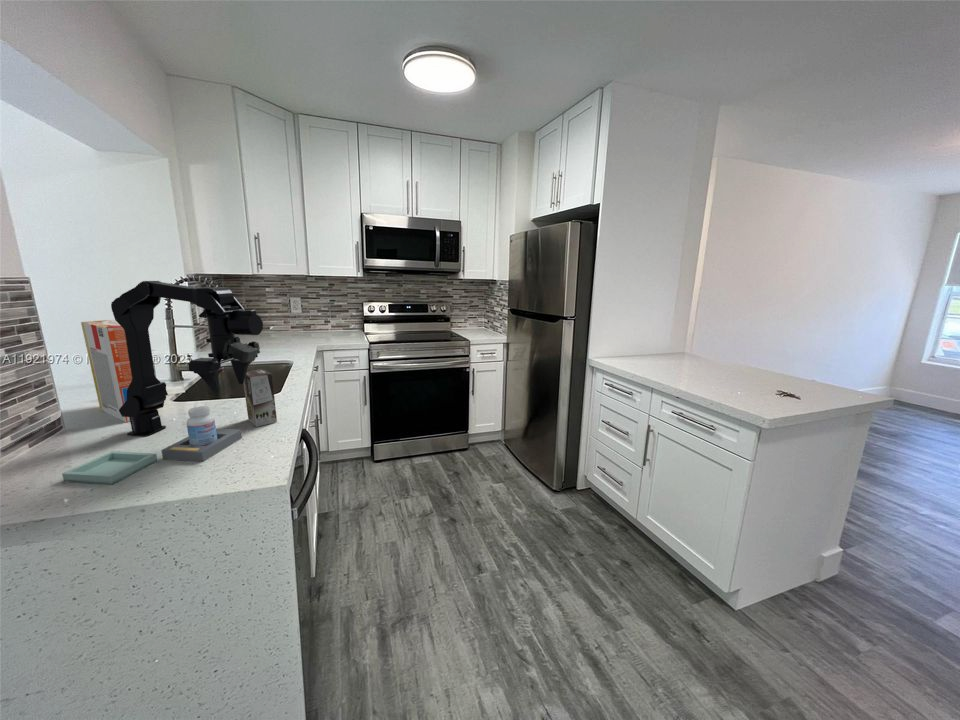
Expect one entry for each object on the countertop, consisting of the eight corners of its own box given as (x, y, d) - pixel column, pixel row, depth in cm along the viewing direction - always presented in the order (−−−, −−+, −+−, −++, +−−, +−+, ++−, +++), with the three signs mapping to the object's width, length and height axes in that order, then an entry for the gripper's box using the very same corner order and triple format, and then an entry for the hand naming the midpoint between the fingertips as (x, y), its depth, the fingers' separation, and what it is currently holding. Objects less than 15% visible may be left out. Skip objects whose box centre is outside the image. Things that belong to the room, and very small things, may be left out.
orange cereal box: (158, 414, 125) (141, 325, 118) (126, 422, 118) (106, 328, 112) (130, 402, 136) (113, 319, 130) (100, 408, 130) (80, 321, 123)
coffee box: (278, 422, 121) (272, 373, 117) (255, 427, 116) (249, 377, 113) (269, 414, 127) (263, 368, 123) (247, 419, 123) (241, 371, 119)
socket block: (163, 459, 96) (161, 449, 95) (206, 436, 110) (204, 427, 109) (203, 461, 95) (201, 451, 95) (242, 438, 109) (240, 429, 108)
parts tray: (64, 481, 85) (61, 473, 85) (113, 458, 96) (112, 451, 96) (112, 484, 84) (111, 476, 84) (157, 460, 95) (156, 453, 95)
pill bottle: (204, 454, 99) (197, 414, 96) (185, 451, 100) (178, 411, 98) (224, 444, 105) (218, 406, 102) (205, 442, 106) (199, 404, 103)
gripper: (223, 341, 93) (231, 400, 97) (271, 330, 111) (277, 380, 115) (182, 339, 94) (191, 398, 98) (236, 328, 113) (243, 379, 116)
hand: (229, 388), depth 107 cm, fingers open, 9 cm apart
